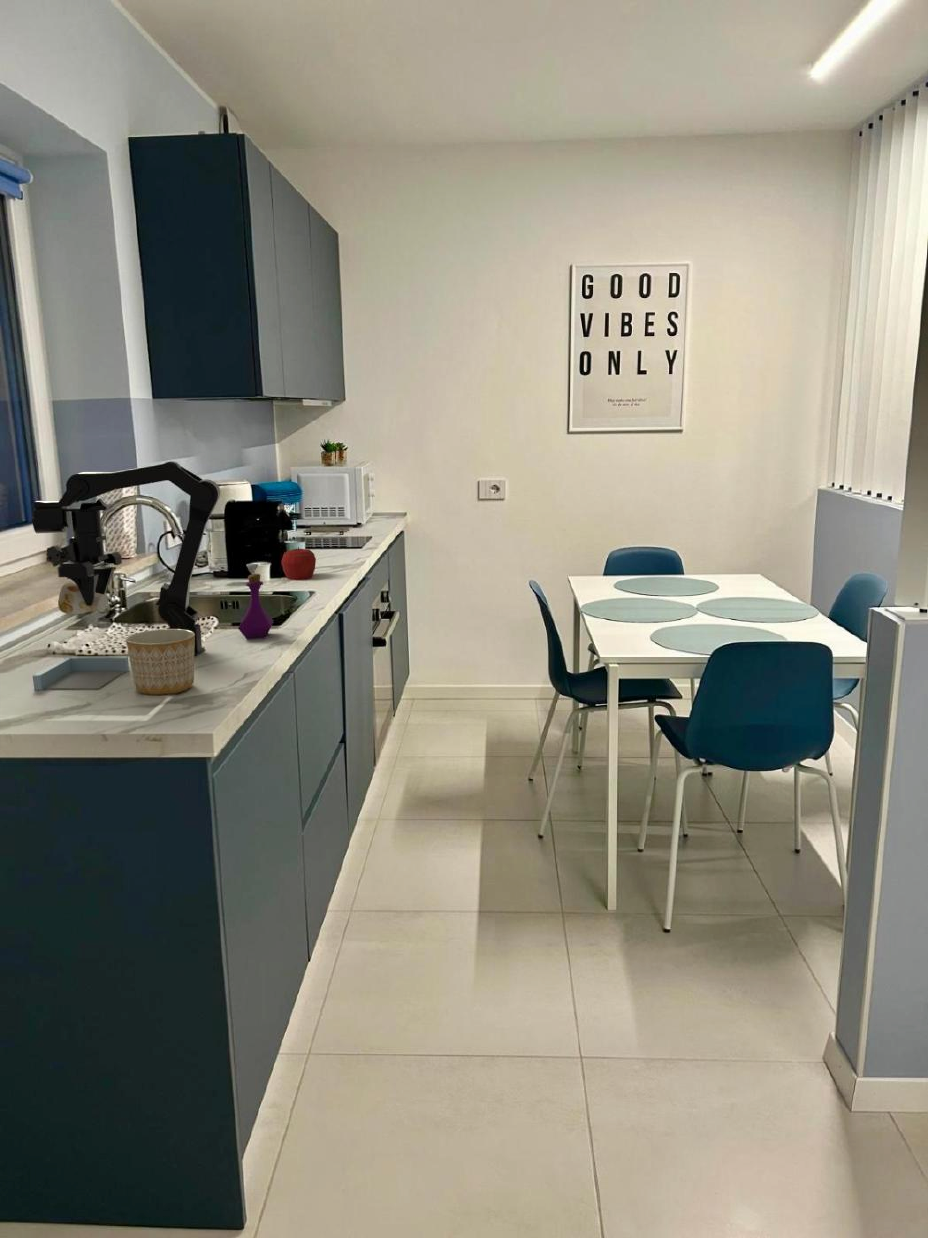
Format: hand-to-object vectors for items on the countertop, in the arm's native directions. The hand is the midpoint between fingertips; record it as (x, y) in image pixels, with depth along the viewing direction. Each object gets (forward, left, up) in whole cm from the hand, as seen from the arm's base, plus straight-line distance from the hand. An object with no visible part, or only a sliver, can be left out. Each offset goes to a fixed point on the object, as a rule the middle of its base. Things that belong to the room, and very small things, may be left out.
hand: (94, 603), depth 204 cm
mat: (-5, +18, -12) cm, 23 cm away
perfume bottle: (-30, -19, -13) cm, 38 cm away
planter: (-23, +23, -13) cm, 35 cm away
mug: (0, -1, -4) cm, 4 cm away
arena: (+2, +11, -12) cm, 17 cm away
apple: (-24, -93, -13) cm, 97 cm away
